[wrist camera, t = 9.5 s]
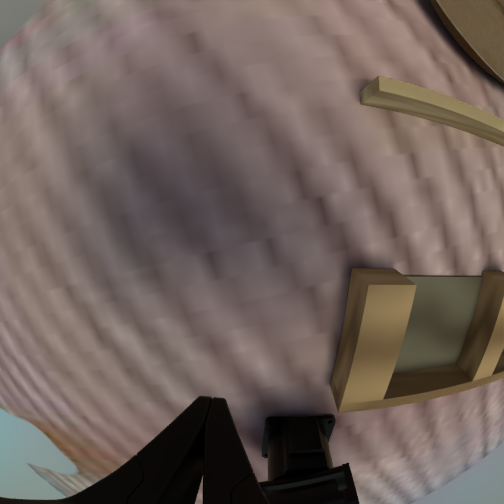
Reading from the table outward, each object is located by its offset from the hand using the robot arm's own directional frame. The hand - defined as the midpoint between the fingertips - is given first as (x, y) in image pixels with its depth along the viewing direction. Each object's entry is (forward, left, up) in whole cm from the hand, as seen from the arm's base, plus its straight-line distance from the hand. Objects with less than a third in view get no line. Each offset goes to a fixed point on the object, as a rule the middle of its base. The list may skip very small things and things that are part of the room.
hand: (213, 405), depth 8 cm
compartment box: (+2, -22, -12) cm, 25 cm away
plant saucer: (+27, -23, -12) cm, 37 cm away
